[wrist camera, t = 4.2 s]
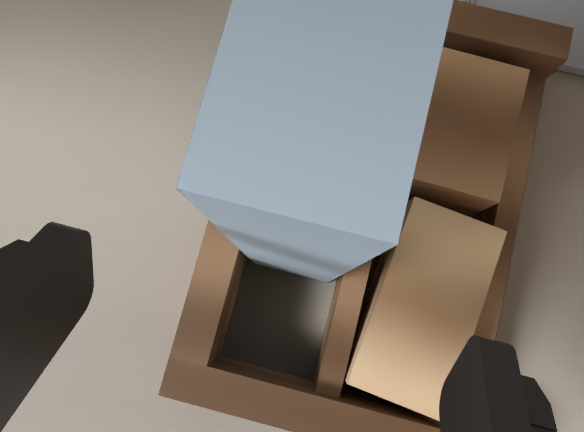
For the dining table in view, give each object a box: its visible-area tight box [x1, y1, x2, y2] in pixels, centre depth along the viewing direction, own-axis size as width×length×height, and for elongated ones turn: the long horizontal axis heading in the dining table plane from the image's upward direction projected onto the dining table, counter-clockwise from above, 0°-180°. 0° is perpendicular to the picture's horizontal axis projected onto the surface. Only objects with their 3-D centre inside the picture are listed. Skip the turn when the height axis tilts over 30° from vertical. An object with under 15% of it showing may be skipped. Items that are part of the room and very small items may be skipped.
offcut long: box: [344, 197, 507, 421], centre depth 23 cm, size 8×4×4 cm, turn 159°
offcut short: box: [408, 47, 530, 217], centre depth 24 cm, size 6×4×4 cm, turn 164°
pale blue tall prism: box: [176, 0, 453, 283], centre depth 17 cm, size 7×4×17 cm, turn 165°
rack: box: [159, 0, 574, 432], centre depth 24 cm, size 19×13×4 cm
